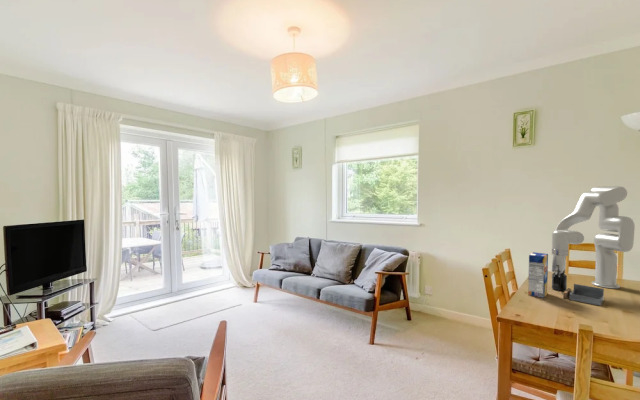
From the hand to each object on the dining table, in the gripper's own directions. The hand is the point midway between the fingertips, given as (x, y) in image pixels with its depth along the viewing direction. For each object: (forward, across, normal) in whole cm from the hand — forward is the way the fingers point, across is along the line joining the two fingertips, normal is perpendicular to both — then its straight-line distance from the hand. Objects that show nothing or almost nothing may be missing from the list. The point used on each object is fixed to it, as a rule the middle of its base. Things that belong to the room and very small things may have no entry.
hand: (558, 282), depth 180 cm
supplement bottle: (+5, 0, 0) cm, 5 cm away
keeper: (+4, +11, +14) cm, 18 cm away
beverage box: (+5, +19, -6) cm, 20 cm away
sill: (+4, +11, +6) cm, 13 cm away
